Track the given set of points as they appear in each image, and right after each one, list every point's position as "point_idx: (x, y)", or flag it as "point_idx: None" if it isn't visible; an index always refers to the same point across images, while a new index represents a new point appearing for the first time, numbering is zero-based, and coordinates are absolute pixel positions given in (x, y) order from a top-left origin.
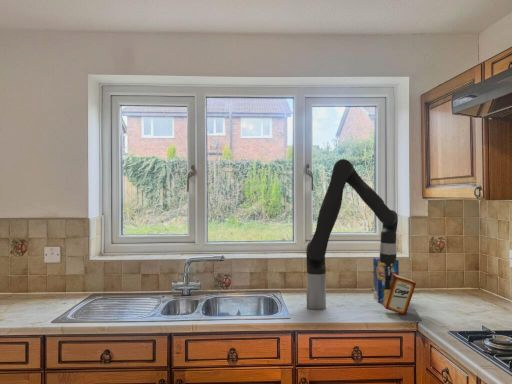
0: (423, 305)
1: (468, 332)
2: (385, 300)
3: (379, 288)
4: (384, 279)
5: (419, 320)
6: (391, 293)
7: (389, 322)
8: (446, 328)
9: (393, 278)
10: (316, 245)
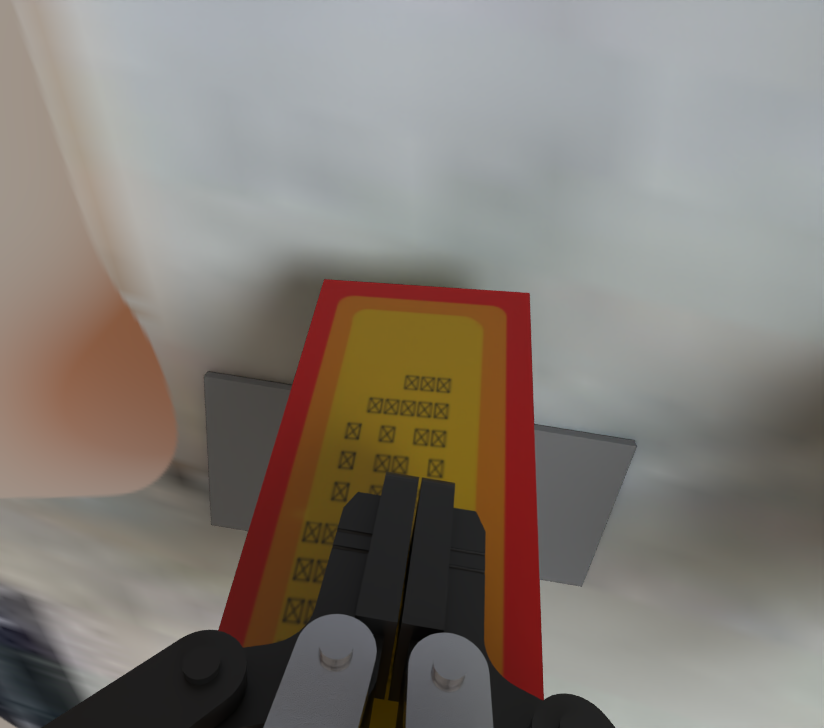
0: (716, 677)
1: (39, 672)
2: (443, 353)
3: None
4: (433, 659)
5: (210, 507)
6: (266, 495)
7: (90, 224)
8: (77, 601)
9: None
10: None
